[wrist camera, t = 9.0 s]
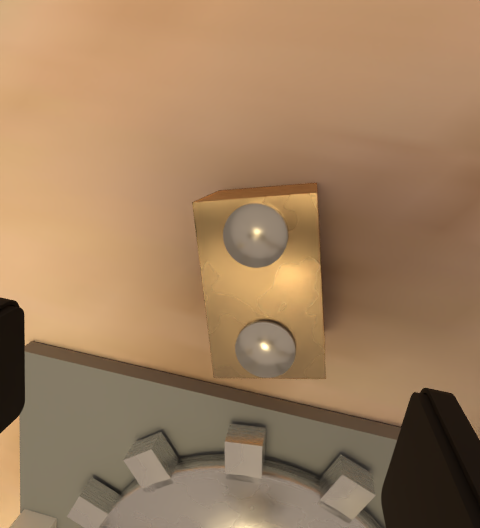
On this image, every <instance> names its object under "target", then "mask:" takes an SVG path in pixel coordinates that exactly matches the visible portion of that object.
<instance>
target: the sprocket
mask: <svg viewBox="0 0 480 528" xmlns="http://www.w3.org/2000/svg"><path fill="white" fill-rule="evenodd" d="M265 436H266V428H263V427H255V426H247V425H238V424H230V426H229V429H228V432H227V436H226V439H225V454H214V455H200V456H194V457H188V458H182V459H178V457H177V456H176V454H175V453H174V451H173V449H172V448H171V446H170V445H169V443H168V442H167V440H166V439H165V437H164V436H163V434H162V432H159V433H156V434H154V435H152V436H149V437H147V438H144V439H142V440H139V441H137V442H134V444H133V445H132V447H131V448H130V450H129V452H128V453H127V455H126V457H125V458H124V460H123V461H124V462H125V464H126V465H127V467H128V468H129V470H130V471H131V473H132V474H133V476H134V477H135V479H136V480H134V481H133V482H132V483H131V484H130V485H129V486H128V487H127V488H126V489H124V490H123V491H122V492H121V494H118V493H116V492H115V491H113V490H112V489H110V488H108V487H107V486H105V485H104V484H102V483H100V482H99V481H97V480H96V479H94V478H91V479H90V481H89V482H88V484H87V485H86V487H85V488H84V490H83V491H82V493H81V494H80V496H79V497H78V499H77V501H76V502H75V504H74V506H73V507H72V509H71V511H70V512H69V514H68V516H67V517H68V518H70V519H71V520H73V521H74V522H76V523H78V524H79V525H81V526H82V527H84V528H382V527H381V526H380V525H379V524H378V523H377V522H376V520H375V519H374V518H373V517H372V516H371V515H370V514H369V513H368V512H367V511H366V510H364V509H363V508H364V507H365V506H366V505H367V504H368V503H369V502H370V501H371V500H372V499H373V498H374V497H375V496H376V494H375V488H374V482H373V476H372V473H370V472H369V471H367V470H366V469H364V468H362V467H361V466H359V465H357V464H356V463H354V462H353V461H351V460H349V459H348V458H346V457H345V456H343V455H341V454H340V456H339V457H338V458H337V459H336V460H335V461H334V463H333V464H332V465H331V466H330V467H329V468H328V470H327V471H326V472H325V473H324V474H323V475H322V476H321V478H318V477H316V476H314V475H311V474H309V473H307V472H304V471H302V470H300V469H297V468H295V467H292V466H289V465H285V464H282V463H279V462H275V461H272V460H268V459H265Z"/></svg>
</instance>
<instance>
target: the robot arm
mask: <svg viewBox="0 0 480 528" xmlns="http://www.w3.org/2000/svg"><path fill="white" fill-rule="evenodd" d="M24 404H25V340H24V311H23V309H21V308H19V305H18V303H17V302H16V301H14V300H9V299H5V298H0V433H1V432H2V431H3V430H4V429H5V428H6V427H8V426H9V425H10V424H11V423H12V422H13V421H14V420H15V419H16V418H17V417H18V416H19V415H20V413H21V412H22V410H23V408H24ZM381 505H382V510H383V515H384V521H385V526H386V528H480V440H479V439H478V437H477V435H476V433H475V431H474V430H473V428H472V426H471V424H470V423H469V421H468V419H467V417H466V416H465V414H464V412H463V410H462V409H461V407H460V405H459V403H458V401H457V400H456V398H455V396H454V395H453V394H452V393H448V392H443V391H438V390H434V389H429V388H423V389H422V391H421V392H420V393H416V392H414V393H413V394H412V396H411V398H410V401H409V404H408V407H407V411H406V414H405V417H404V420H403V423H402V426H401V430H400V433H399V436H398V439H397V442H396V445H395V449H394V452H393V455H392V458H391V461H390V464H389V468H388V471H387V474H386V477H385V480H384V483H383V487H382V492H381Z"/></svg>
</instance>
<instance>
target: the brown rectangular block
mask: <svg viewBox="0 0 480 528" xmlns="http://www.w3.org/2000/svg"><path fill="white" fill-rule="evenodd" d="M192 204H193V212H194V220H195V228H196V237H197V245H198V253H199V261H200V269H201V277H202V285H203V293H204V302H205V310H206V318H207V326H208V334H209V342H210V350H211V358H212V366H213V375H214V378H278V379H326V370H325V341H324V317H323V296H322V275H321V254H320V233H319V212H318V191H317V183H305V184H293V185H281V186H269V187H256V188H244V189H232V190H220V191H217V192H215V193H212V194H210V195H208V196H206V197H203V198H201V199H199V200H197V201H194V202H192Z"/></svg>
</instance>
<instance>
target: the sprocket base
mask: <svg viewBox="0 0 480 528" xmlns="http://www.w3.org/2000/svg"><path fill="white" fill-rule="evenodd" d="M230 424H238V425H247V426H255V427H263V428H266V436H265V459H268V460H272V461H275V462H279V463H282V464H285V465H289V466H292V467H295V468H297V469H300V470H302V471H304V472H307V473H309V474H311V475H314V476H316V477H318V478H321V476H322V475H323V474H324V473H325V472H326V471H327V470H328V468H329V467H330V466H331V465H332V464H333V463H334V461H335V460H336V459H337V458H338V457H339V456H340V454H341V455H343V456H345V457H346V458H348V459H349V460H351V461H353V462H354V463H356V464H357V465H359V466H361V467H362V468H364V469H366V470H367V471H369V472H370V473H372V476H373V482H374V488H375V494H376V496H375V497H374V498H373V499H372V500H371V501H370V502H369V503H368V504H367V505H366V506H365V507H364V508H363V509H364V510H366V511H367V512H368V513H369V514H370V515H371V516H372V517H373V518H374V519H375V520H376V522H377V523H378V524H379V525H380V526H381V527H382V528H386V526H385V521H384V515H383V510H382V505H381V492H382V487H383V483H384V480H385V477H386V474H387V471H388V468H389V464H390V461H391V458H392V455H393V452H394V449H395V445H396V442H397V439H398V436H399V433H400V430H401V427H396V426H392V425H388V424H383V423H379V422H375V421H371V420H366V419H362V418H358V417H354V416H349V415H345V414H341V413H336V412H332V411H328V410H324V409H319V408H315V407H311V406H307V405H302V404H298V403H294V402H289V401H285V400H281V399H277V398H272V397H268V396H264V395H260V394H255V393H251V392H247V391H242V390H238V389H234V388H230V387H225V386H221V385H217V384H213V383H208V382H204V381H200V380H195V379H191V378H187V377H183V376H178V375H174V374H170V373H166V372H161V371H157V370H153V369H148V368H144V367H140V366H136V365H131V364H127V363H123V362H119V361H114V360H110V359H106V358H101V357H97V356H93V355H89V354H84V353H80V352H76V351H72V350H67V349H63V348H59V347H54V346H50V345H46V344H42V343H37V342H33V341H32V342H30V343H29V344H27V345H26V346H25V404H24V408H23V410H22V412H21V413H20V515H19V516H18V517H17V519H16V520H15V521H14V522H13V524H12V525H11V526H10V527H9V528H84V527H82V526H81V525H79V524H78V523H76V522H74V521H73V520H71V519H70V518H68V517H67V516H68V514H69V512H70V511H71V509H72V507H73V506H74V504H75V502H76V501H77V499H78V497H79V496H80V494H81V493H82V491H83V490H84V488H85V487H86V485H87V484H88V482H89V481H90V479H91V478H94V479H96V480H97V481H99V482H100V483H102V484H104V485H105V486H107V487H108V488H110V489H112V490H113V491H115V492H116V493H118V494H121V492H122V491H123V490H124V489H126V488H127V487H128V486H129V485H130V484H131V483H132V482H133V481H134V480H136V479H135V477H134V476H133V474H132V473H131V471H130V470H129V468H128V467H127V465H126V464H125V462H124V461H123V460H124V458H125V457H126V455H127V453H128V452H129V450H130V448H131V447H132V445H133V444H134V442H137V441H139V440H142V439H144V438H147V437H149V436H152V435H154V434H156V433H159V432H162V434H163V436H164V437H165V439H166V440H167V442H168V443H169V445H170V446H171V448H172V449H173V451H174V453H175V454H176V456H177V457H178V459H182V458H188V457H194V456H200V455H214V454H225V439H226V436H227V432H228V429H229V426H230Z"/></svg>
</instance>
